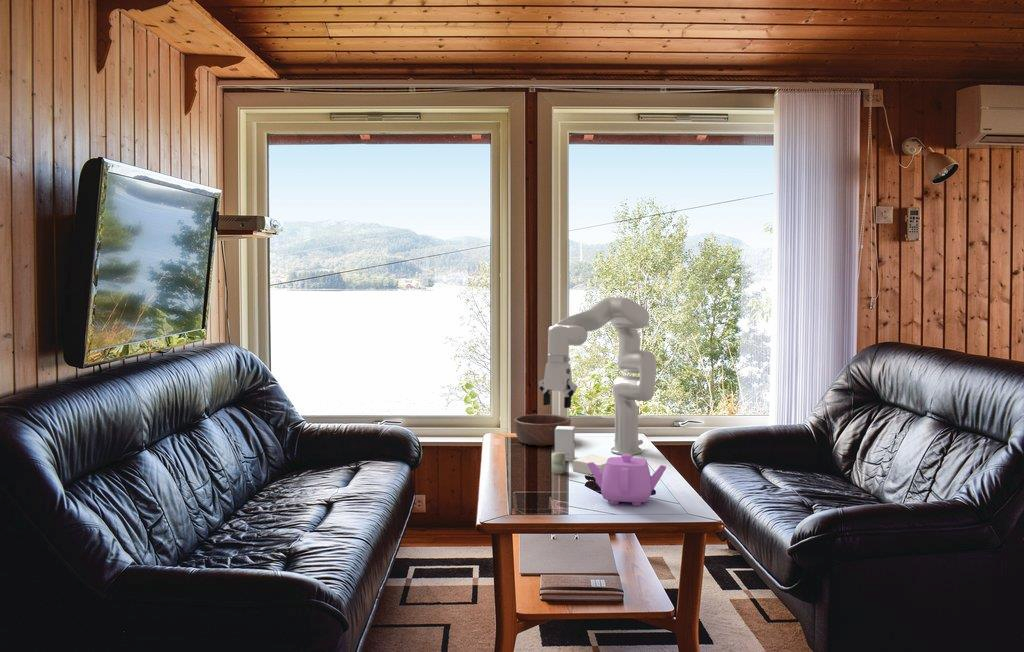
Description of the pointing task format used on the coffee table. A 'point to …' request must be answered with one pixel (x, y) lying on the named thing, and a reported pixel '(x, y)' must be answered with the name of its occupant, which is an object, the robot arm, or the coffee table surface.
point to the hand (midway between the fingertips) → (556, 406)
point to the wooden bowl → (539, 428)
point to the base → (581, 463)
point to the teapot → (626, 479)
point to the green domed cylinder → (558, 462)
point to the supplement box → (565, 441)
